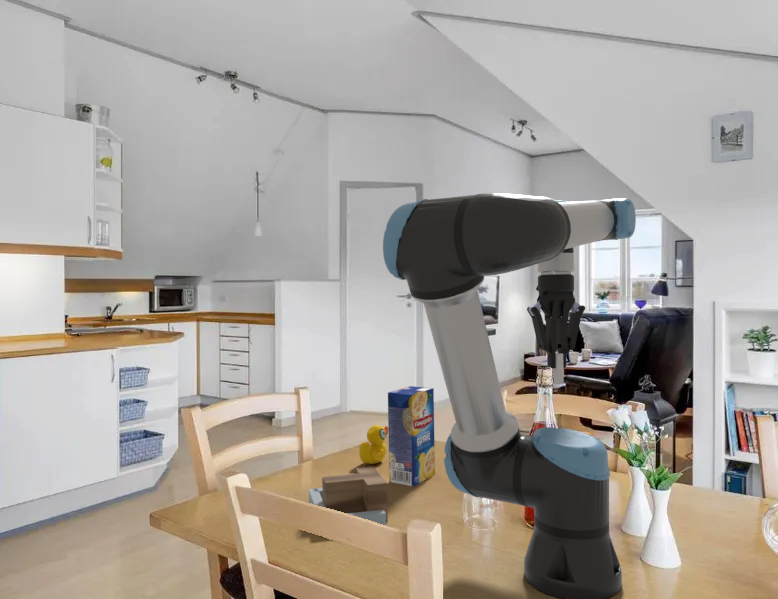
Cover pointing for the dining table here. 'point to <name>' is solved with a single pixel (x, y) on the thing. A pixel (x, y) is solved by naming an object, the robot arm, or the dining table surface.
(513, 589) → the dining table surface
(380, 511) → the fence
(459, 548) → the dining table surface
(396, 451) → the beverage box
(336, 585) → the dining table surface
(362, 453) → the duckling
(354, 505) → the t block
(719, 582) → the dining table surface
